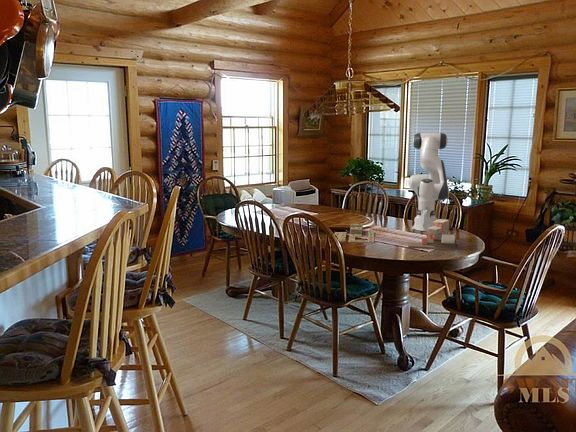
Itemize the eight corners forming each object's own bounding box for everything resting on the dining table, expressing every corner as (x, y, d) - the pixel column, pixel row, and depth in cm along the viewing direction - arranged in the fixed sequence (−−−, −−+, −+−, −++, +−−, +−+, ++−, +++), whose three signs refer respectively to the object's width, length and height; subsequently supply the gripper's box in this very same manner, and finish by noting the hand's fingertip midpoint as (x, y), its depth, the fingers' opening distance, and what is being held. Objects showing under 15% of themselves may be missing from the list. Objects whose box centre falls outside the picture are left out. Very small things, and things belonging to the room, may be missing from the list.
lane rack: (408, 243, 312) (408, 235, 311) (455, 245, 306) (456, 237, 305) (408, 248, 301) (408, 239, 300) (457, 250, 295) (458, 241, 294)
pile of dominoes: (335, 231, 352) (335, 223, 351) (374, 232, 348) (374, 224, 347) (331, 242, 318) (331, 234, 317) (374, 243, 314) (374, 235, 313)
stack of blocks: (435, 244, 309) (436, 225, 307) (426, 243, 313) (427, 223, 311) (448, 238, 326) (449, 219, 324) (439, 236, 330) (440, 218, 327)
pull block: (421, 243, 307) (421, 233, 306) (453, 244, 304) (453, 234, 302) (422, 245, 302) (422, 235, 301) (454, 246, 298) (455, 236, 297)
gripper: (432, 209, 289) (431, 232, 291) (430, 204, 309) (429, 225, 311) (421, 208, 290) (420, 231, 293) (419, 203, 310) (418, 225, 312)
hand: (425, 228), depth 302 cm, fingers open, 8 cm apart
